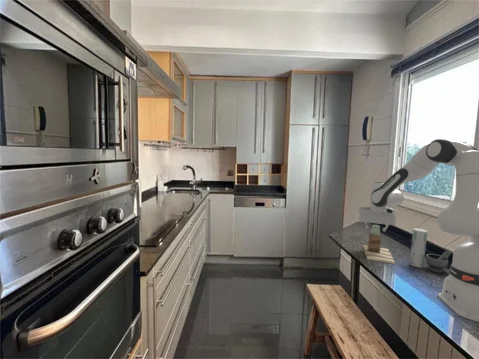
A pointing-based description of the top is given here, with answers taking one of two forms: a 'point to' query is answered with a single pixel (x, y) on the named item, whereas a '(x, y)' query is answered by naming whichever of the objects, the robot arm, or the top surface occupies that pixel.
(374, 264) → the top surface
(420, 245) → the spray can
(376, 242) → the top block
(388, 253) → the board
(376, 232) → the canister
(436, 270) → the mortar and pestle
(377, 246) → the base block
